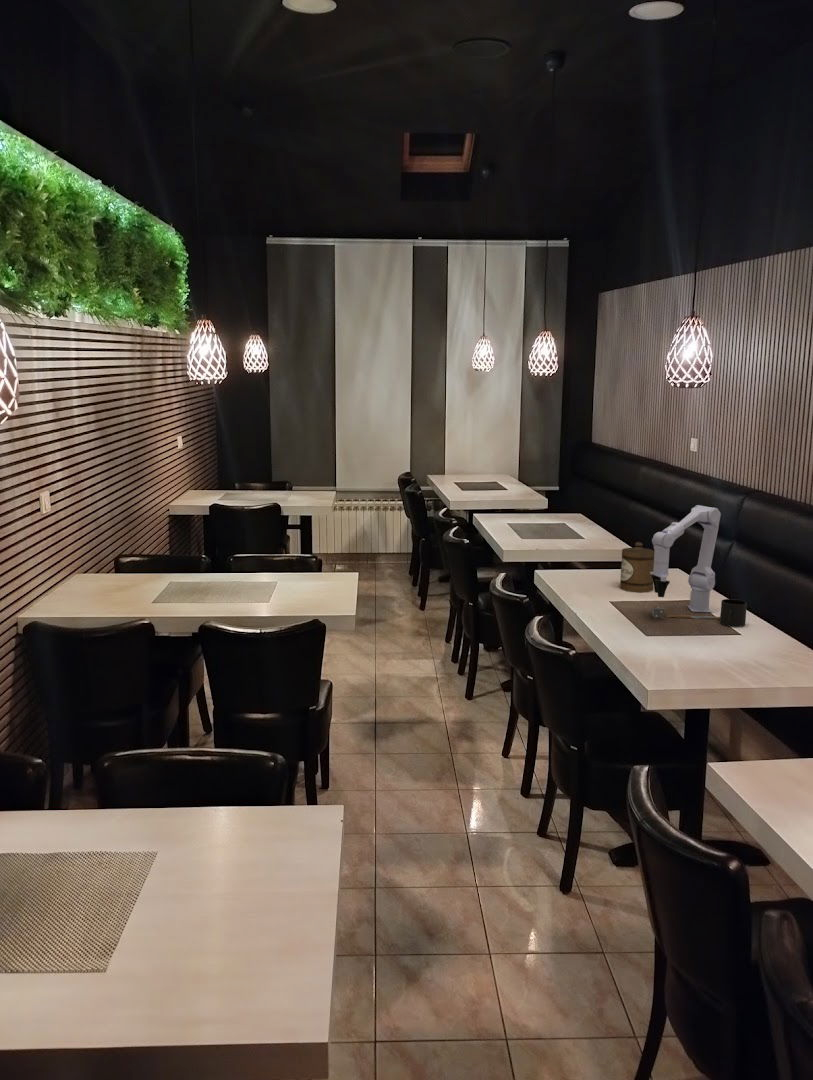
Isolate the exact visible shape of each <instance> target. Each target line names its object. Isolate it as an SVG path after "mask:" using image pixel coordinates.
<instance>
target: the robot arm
mask: <svg viewBox="0 0 813 1080" xmlns="http://www.w3.org/2000/svg"><path fill="white" fill-rule="evenodd" d="M721 515H722V514H721V512H720V510H719V509H718V508H717V507H710V506H705V505H701V504H697V505H695V506H694V507H692V508H691V510H690V513H688V514H687V515H686V516H685V517H684V518H682V519H681V520H680V521H679V522H675V521H673V522H671V524H670V525H669V526H668V527H666V528H664V529H663V530H662V531H658V532H656V533H654V534H653V537H652V538H651V542H652V545H653V549H654V551H655V553H654V569H653V572H650V574H653V575H651V577H652V579H653V590H654V593H655V594H656V593H657V597H658V598H664V597H665V594H666V591H667V588H668V586H669V584H670V581H671V580H667V577H668V576H669V562H670V550H671V547H672V546H673V545H674V542H675V541H676V540H677V539H678V538H679V537H681V536H682V535H683V534H684V533H685V530H686V529H687V528H689V527H690V526H692V525H694V524H696V523H698V524H699V525H701V526H702V528H703V529H704V530H703V533H702V539H701V543H700V549H699V554H698V555H699V556H698V559H697V560H698V561H697V564H696V566H694V567H693V568H691V572H690V574H689V576H688V585H689V586H690V589H691V591H690V596H689V597H690V598H689V605H688V604H687V605H686V607H688V609H689V610H690V611H691V612H695V613H712V610H711V609H710V598H711V595H710V594H711V591H712V590H713V589H714V588H715V585H716V573H715V571H713V569H712V563H713V558H714V553H715V547H716V541H717V537H718V532H719V526H720V520H721Z"/></svg>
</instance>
